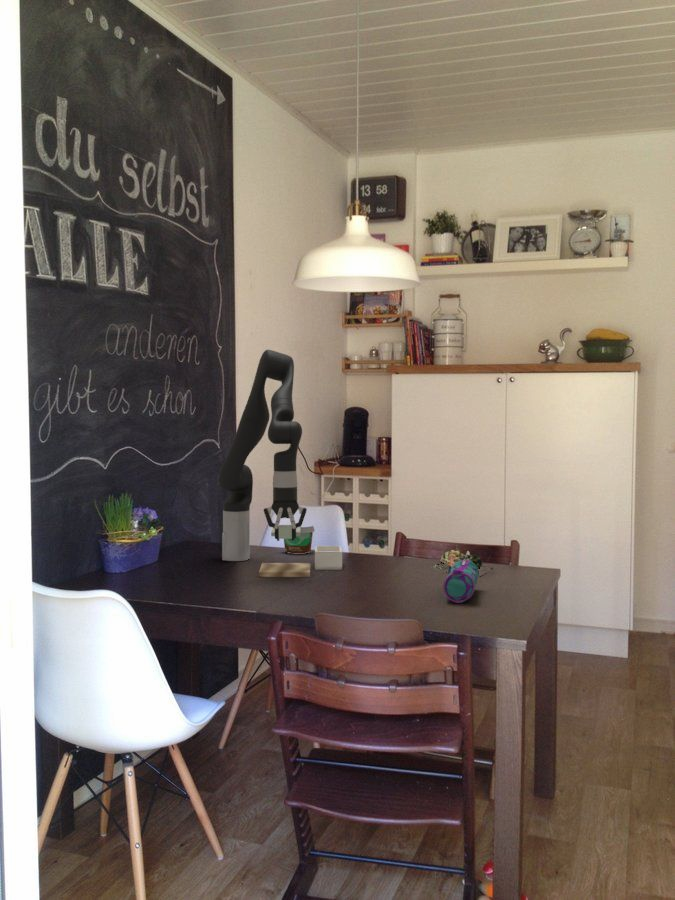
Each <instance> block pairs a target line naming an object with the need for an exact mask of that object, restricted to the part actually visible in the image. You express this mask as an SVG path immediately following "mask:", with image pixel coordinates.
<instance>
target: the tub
mask: <svg viewBox="0 0 675 900" xmlns="http://www.w3.org/2000/svg"><path fill="white" fill-rule="evenodd" d="M342 548H343V547H342V545H314V570H315V571H320V570H321V571H323V570H324V571H326V570H327V571H329V570H330V571H342V570H343V549H342Z"/></svg>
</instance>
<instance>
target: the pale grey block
mask: <svg viewBox="0 0 675 900" xmlns="http://www.w3.org/2000/svg"><path fill="white" fill-rule="evenodd" d="M301 527H302V526H301ZM301 527H297V528H296V536H300V530H301ZM270 534H271V535H270V537H275V529H274V528H273V527H272V529H271V533H270ZM282 539H283V540H284V539H292V525H291V524H279V540H282Z"/></svg>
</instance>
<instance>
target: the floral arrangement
mask: <svg viewBox="0 0 675 900" xmlns="http://www.w3.org/2000/svg"><path fill="white" fill-rule="evenodd" d="M458 544H459V543H458V542H457V543H456V547H455V549H456V550H454V549H452V550H450V551H446V549H445V547H444V548H443V551H442V555H441V557H440V561H442V562H444V563H446V564H448V565H449V566H451V567H452V566H453V565H454V564H455V563H456V562H458V561H460V560H464V559H466V560H469V561H472V562H473V563H474V564H475V565H476V566H477V568H478V569H480V567H481V566H482V567H483V564H484V562H483V559H481V557H477V556H476V555H475V556H474V555H471V554H470V551H469V550H467V551H466V554H464V553H462V551H463V550H460V548H458V546H459V545H458ZM437 564H438V563H435V564H434V565H435V566H432V567H434V568H435V569H436V568H437V569H444V570H445V569H449V567H447V566H446V567H443V566H444V564H442V563H441V564H442V565H443V566H442V567H443V568H441V567H439V568H438V567H436V566H437ZM437 569H436V570H437ZM444 572H445V571H444Z"/></svg>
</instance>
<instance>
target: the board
mask: <svg viewBox="0 0 675 900" xmlns="http://www.w3.org/2000/svg"><path fill="white" fill-rule="evenodd" d="M258 577H259V578H310V577H311V563H310V562H262V563H261V565H260V568H259V571H258Z"/></svg>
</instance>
